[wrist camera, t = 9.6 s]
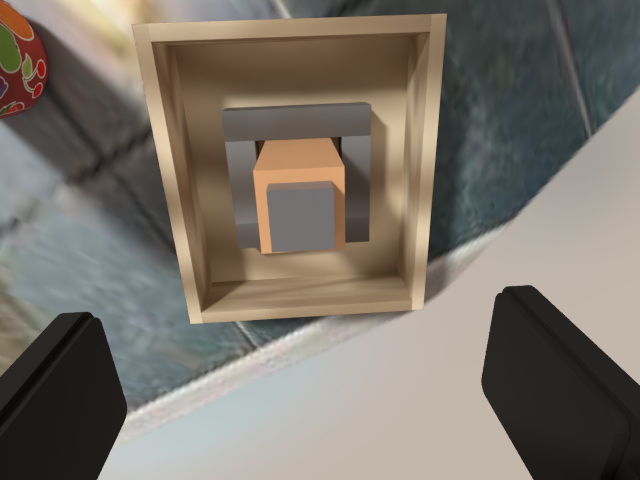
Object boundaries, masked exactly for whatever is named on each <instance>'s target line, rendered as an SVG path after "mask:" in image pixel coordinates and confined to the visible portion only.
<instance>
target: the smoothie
mask: <svg viewBox="0 0 640 480" xmlns="http://www.w3.org/2000/svg"><path fill="white" fill-rule="evenodd" d="M48 75H49V72H48V58H47V55H46V52H45V49H44V46H43V44H42V42H41V40H40V39H39V37H38V36H37V34H36V33H35V31H34V30H33V28H32V27H31V26H30V25H29V24H28V22H27V21H26V19H25V18H24V17H23V16H21V15H20V14H19V13H18V12H17V11H16V10H15V9H14V8H13V7H12V6H11V5H10V4H9V3H7V2H5V1H3V0H0V119H2V118H6V117H9V116H13V115H17V114H19V113H21V112H23V111H25V110H27V109H29V108H31V107H32V106H33V105H34V104H35V102H36V101H37V100H38V99H39V97H40V96H41V95H42V92H43V89H44V88H45V85H46V81H47V78H48Z"/></svg>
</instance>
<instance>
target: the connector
mask: <svg viewBox="0 0 640 480" xmlns="http://www.w3.org/2000/svg"><path fill="white" fill-rule="evenodd" d="M253 175H254V185H255V195H256V204H257V214H258V224H259V233H260V243H261V253H262V254H267V253H285V252H303V251H321V250H339V249H345V167H344V165H343V163H342V160H341V158H340V156H339V154H338V152H337V150H336V148H335V146H334V144H333V142H332V140H331V138H330V137H325V138H303V139H281V140H266V141H265V143H264V145H263V148H262V150H261V153H260V155H259V158H258V160H257V163H256V165H255V167H254V170H253Z"/></svg>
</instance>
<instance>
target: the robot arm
mask: <svg viewBox="0 0 640 480" xmlns="http://www.w3.org/2000/svg"><path fill="white" fill-rule="evenodd" d="M481 380H482V381H481V382H482V388H483V392H484V394H485V396H486V398H487V400H488V401H489V403H490V405H491V407H492V408H493V410H494V412H495V414H496V415H497V417H498V419H499V421H500V422H501V424H502V426H503V427H504V429H505V431H506V433H507V434H508V436H509V438H510V440H511V441H512V443H513V445H514V447H515V448H516V450H517V452H518V454H519V455H520V457H521V459H522V460H523V462H524V464H525V466H526V467H527V469H528V471H529V473H530V474H531V476H532V478H533V479H534V480H640V385H639V384H638V383H637V382H635V381H634V380H633V379H632V378H631V377H630V376H629V375H628V374H627V373H626V372H625V371H624V370H622V369H621V368H620V367H619V366H618V365H617V364H616V363H615V362H614V361H613V360H612V359H611V358H610V357H609V356H608V355H606V354H605V353H604V352H603V351H602V350H601V349H600V348H599V347H598V346H597V345H596V344H595V343H594V342H593V341H591V340H590V339H589V338H588V337H587V336H586V335H585V334H584V333H583V332H582V331H581V330H580V329H579V328H578V327H576V326H575V325H574V324H573V323H572V322H571V321H570V320H569V319H568V318H567V317H565V315H564V314H563V313H561V312H560V311H559V310H558V309H557V308H556V307H555V306H554V305H553V304H552V303H551V302H550V301H549V300H548V299H546V298H545V297H544V296H543V295H542V294H541V293H540V292H539V291H538V290H537V289H536V288H535V287H533V286H531V285H525V286H509V287H505V288H504V289H503V291H502V293H498V294H497V296H496V298H495V303H494V309H493V315H492V321H491V326H490V332H489V338H488V344H487V350H486V356H485V361H484V367H483V373H482V379H481ZM126 414H127V404H126V400H125V397H124V394H123V390H122V387H121V384H120V381H119V377H118V374H117V371H116V368H115V364H114V361H113V358H112V355H111V351H110V348H109V345H108V342H107V339H106V335H105V332H104V329H103V326H102V323H101V320H100V319H99V318H94V317H93V315H92V314H91V313H90V312H75V313H62V314H60V315H58V316H57V317H56V318H55V319H54V320H53V321H52V322H51V323H50V324H49V325H48V327H47V328H46V329H45V330H44V331H43V332H42V333H41V334H40V335H39V336H38V337H37V338H36V339H35V340H34V342H33V343H32V344H31V345H30V346H29V347H28V348H27V349H26V350H25V351H24V352H23V353H22V354H21V355H20V357H19V358H18V359H17V360H16V361H15V362H14V363H13V364H12V365H11V366H10V367H9V368H8V369H7V370H6V372H5V373H4V374H3V375H2V376H1V377H0V480H97V478H98V476H99V474H100V472H101V470H102V468H103V466H104V463H105V462H106V459H107V457H108V455H109V453H110V451H111V449H112V447H113V445H114V442H115V440H116V438H117V436H118V434H119V432H120V430H121V428H122V426H123V423H124V421H125V419H126Z"/></svg>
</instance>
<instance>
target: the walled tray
mask: <svg viewBox="0 0 640 480" xmlns="http://www.w3.org/2000/svg"><path fill="white" fill-rule="evenodd" d="M446 20H447V14H419V15H389V16H360V17H331V18H301V19H272V20H242V21H213V22H184V23H154V24H131V25H132V30H133V35H134V40H135V45H136V50H137V55H138V60H139V65H140V70H141V75H142V80H143V85H144V90H145V95H146V100H147V106H148V111H149V116H150V121H151V126H152V131H153V136H154V141H155V146H156V151H157V156H158V161H159V166H160V171H161V176H162V181H163V186H164V191H165V196H166V201H167V206H168V211H169V216H170V221H171V226H172V232H173V237H174V242H175V247H176V252H177V257H178V262H179V267H180V272H181V277H182V282H183V287H184V292H185V297H186V302H187V307H188V312H189V317H190V322H191V324H197V323H213V322H229V321H245V320H261V319H277V318H293V317H309V316H325V315H342V314H358V313H374V312H390V311H406V310H422V309H423V305H424V293H425V280H426V268H427V256H428V243H429V231H430V218H431V206H432V194H433V181H434V169H435V156H436V144H437V132H438V119H439V107H440V94H441V82H442V70H443V57H444V45H445V32H446ZM325 137H330V138H331V140H332V142H333V144H334V146H335V148H336V150H337V152H338V154H339V156H340V158H341V160H342V163H343V165H344V167H345V249H339V250H321V251H303V252H285V253H267V254H262V253H261V243H260V233H259V224H258V214H257V204H256V195H255V185H254V175H253V170H254V167H255V165H256V163H257V160H258V158H259V155H260V153H261V150H262V148H263V145H264V143H265V141H266V140H281V139H303V138H325Z"/></svg>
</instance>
